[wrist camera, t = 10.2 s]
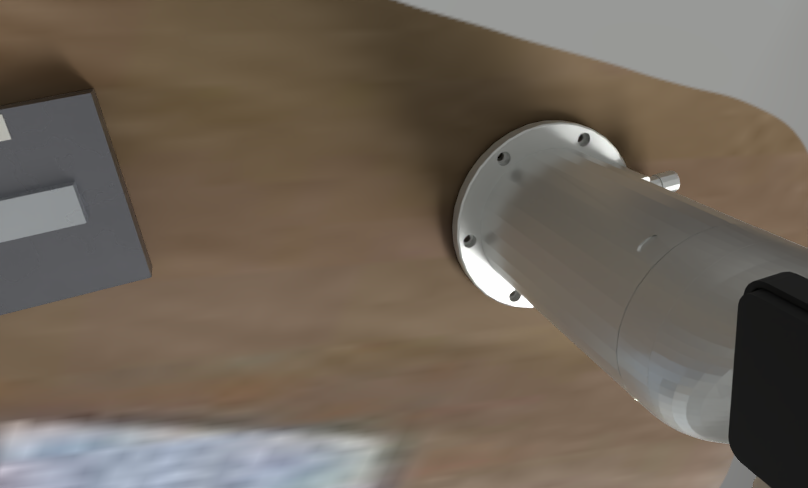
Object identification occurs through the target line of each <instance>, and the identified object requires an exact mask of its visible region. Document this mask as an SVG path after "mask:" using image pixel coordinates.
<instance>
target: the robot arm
mask: <svg viewBox="0 0 808 488" xmlns="http://www.w3.org/2000/svg"><path fill="white" fill-rule="evenodd" d="M578 137H579V138H578ZM500 153H501V156H500V158H499V159H498V156H499V154H500ZM679 186H680V181H679V177H678V175H677V173H675V172H674V171H667V172H663V173H659V174H655V175H653V176H652V177H648V176H645V175H643V174H640V173H638V172H636V171H633V170H631V169H628V168H627V167H626V164H625V161H624V160H623V158H622V156H621V155H620V153H619V152H618V150H617V148H616V147H615V146H614V145H613V144H612V143H611V142H610V141H609V140H608V139H607V138H606V137H605V136H603V135H601V134H600V133H598V132H596V131H595V130H593V129H591V128H589V127H586V126H583V125H581V124H578V123H574V122H569V121H564V120H544V121H540V122H536V123H531V124H527V125H525V126H523V127H520V128H518V129H516V130H514V131H511V132H510V133H508V134H507V135H505V136H504V137H502V138H501V139H499V140H498V141H496V142H495V143H494V144H493V145H492V146H491V147H490V148H489V149H488V150H487V151H485V152H484V153H483V154H482V155H481V156H480V158H479V159H478V160H477V162H476V163H475V164H474V166H473V167H472V169H471V170H470V171H469V173H468V175H467V177H466V179H465V181H464V183H463V185H462V187H461V189H460V191H459V194H458V198H457V201H456V204H455V207H454V215H453V223H452V231H453V244H454V248H455V251H456V255H457V259H458V261H459V263H460V265H461V267H462V269H463V270H464V272H465V274H466V275H467V276H468V278H469V279H470V280H471V281H472V282H473V283H474V284H475V286H477V287H478V288H479V289H480V290H481V291H482V292H483V293H484V294H485V295H487V296H488V297H490V298H492V299H494V300H496V301H497V302H499V303H502V304H505V305H508V306H512V307H521V308H534V307H535V308H536V309H537V310H538V311H539V312H540V313H541V314H542V315H543V316H544V317H545V318H547V319H548V320H549V321H550V322H551V323H552V324H553V325H554V326H555V327H556V328H558V329H559V330H560V331H561V332H562V333H563V334H564V335H565V336H566V337H567V338H569V339H570V340H571V341H572V342H573V343H574V344H575V345H576V346H577V347H578V348H580V349H581V350H582V351H583V352H584V353H585V354H586V355H587V356H588V357H589V358H590V359H592V360H593V361H594V362H595V363H596V364H597V365H598V366H599V367H600V368H601V369H603V370H604V371H605V372H606V373H607V374H608V375H609V376H610V377H611V378H612V379H614V380H615V381H616V382H617V383H618V384H619V385H620V386H621V387H622V388H623V389H624V390H626V391H627V392H628V393H629V394H630V395H631V396H632V397H633V398H634V399H635V400H637V401H638V402H639V403H640V404H641V405H643V406H644V407H645V408H646V409H647V410H648V411H649V412H650V413H652V414H653V415H654V416H655V417H657V418H658V419H659V420H661V421H662V422H663V423H665V424H666V425H668V426H670V427H672V428H674V429H675V430H677V431H679V432H682V433H684V434H687V435H690V436H692V437H695V438H699V439H702V440H706V441H712V442H719V443H726V444H730V447H731V449H732V451H733V453H734V455H735V456H736V457H737V459H738V460H739V461H740V462H741V463H742V464H744V465H745V466H746V467H747V468H748V469H749V470H751V471H752V472H753V473H754V474H755V475H756V476H757V477H756V479H755V480H754V482H753V487H752V488H808V248H806V247H803V246H801V245H798V244H796V243H794V242H791V241H789V240H786V239H784V238H782V237H779V236H777V235H775V234H772V233H770V232H768V231H765V230H763V229H760V228H758V227H755V226H752V225H749V224H747V223H745V222H742V221H740V220H738V219H735V218H733V217H731V216H728V215H726V214H724V213H722V212H719V211H717V210H715V209H712V208H710V207H708V206H705V205H703V204H701V203H698V202H696V201H694V200H691V199H689V198H687V197H684V196H682V195H680V194H677V193H675V192H674V191H677V190H678V189H679ZM466 236H467V238H466V239H465V237H466ZM464 239H465V240H464Z"/></svg>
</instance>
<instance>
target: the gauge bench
mask: <svg viewBox="0 0 808 488" xmlns="http://www.w3.org/2000/svg"><path fill="white" fill-rule="evenodd" d="M150 277H152V264H151V261H150V258H149V255H148V252H147V249H146V246H145V243H144V240H143V237H142V234H141V231H140V228H139V225H138V222H137V219H136V215H135V212H134V209H133V206H132V203H131V200H130V197H129V194H128V191H127V188H126V185H125V182H124V179H123V176H122V173H121V170H120V167H119V164H118V160H117V157H116V154H115V151H114V148H113V145H112V142H111V139H110V136H109V133H108V130H107V127H106V124H105V121H104V118H103V115H102V112H101V108H100V105H99V102H98V99H97V96H96V93H95V90H94V88H93V89H88V90H82V91H77V92H71V93H66V94H61V95H55V96H50V97H44V98H39V99H34V100H28V101H23V102H17V103H12V104H7V105H1V106H0V315H3V314H7V313H11V312H15V311H19V310H23V309H27V308H31V307H35V306H39V305H43V304H47V303H51V302H55V301H59V300H63V299H67V298H71V297H75V296H79V295H83V294H87V293H91V292H95V291H98V290H102V289H106V288H110V287H114V286H118V285H122V284H126V283H130V282H134V281H138V280H142V279H146V278H150Z"/></svg>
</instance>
